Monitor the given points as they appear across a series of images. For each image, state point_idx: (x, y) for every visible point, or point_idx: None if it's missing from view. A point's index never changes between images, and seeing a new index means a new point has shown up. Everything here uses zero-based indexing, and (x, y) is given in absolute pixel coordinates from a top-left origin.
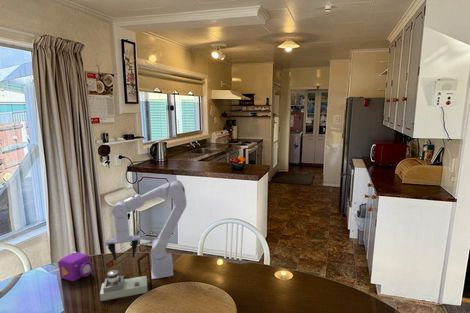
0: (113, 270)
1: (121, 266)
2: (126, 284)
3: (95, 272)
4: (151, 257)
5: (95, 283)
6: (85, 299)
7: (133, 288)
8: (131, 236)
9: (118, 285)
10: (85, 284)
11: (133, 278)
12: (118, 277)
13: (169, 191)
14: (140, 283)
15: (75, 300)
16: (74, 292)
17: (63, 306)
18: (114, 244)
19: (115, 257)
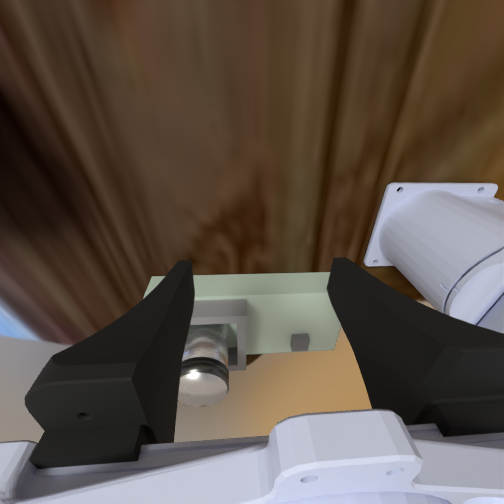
0: (200, 378)
1: (209, 31)
2: (258, 329)
3: (16, 61)
4: (446, 305)
5: (90, 215)
6: (100, 315)
7: (284, 351)
8: (499, 478)
9: (229, 370)
10: (32, 208)
11: (290, 297)
12: (227, 360)
13: None
14: (313, 334)
15: (59, 312)
16: (14, 262)
17: (30, 332)
18: (154, 419)
19: (190, 319)
